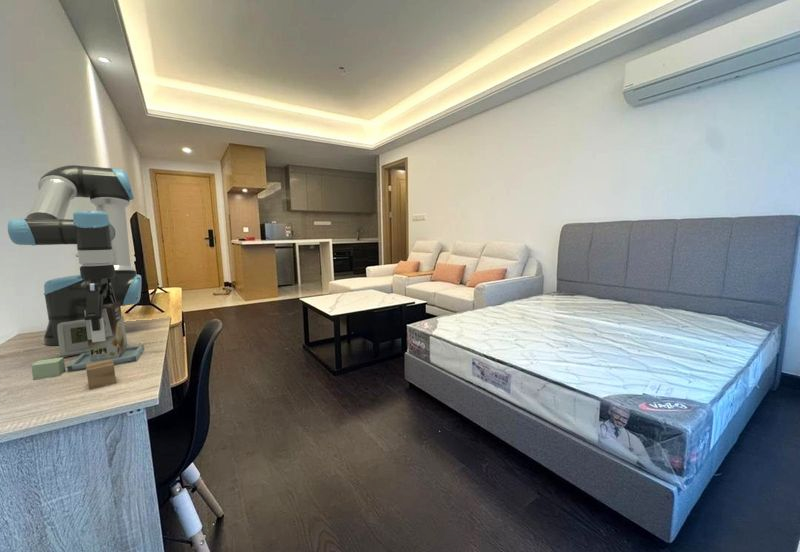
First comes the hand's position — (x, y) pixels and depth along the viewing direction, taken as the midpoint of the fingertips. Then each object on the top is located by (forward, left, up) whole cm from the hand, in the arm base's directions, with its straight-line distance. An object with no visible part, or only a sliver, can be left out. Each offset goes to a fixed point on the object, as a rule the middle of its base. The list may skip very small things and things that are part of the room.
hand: (106, 335), depth 98 cm
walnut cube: (+20, +3, -8) cm, 22 cm away
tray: (0, 0, -8) cm, 8 cm away
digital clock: (-13, -6, -8) cm, 17 cm away
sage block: (+6, -11, -8) cm, 15 cm away
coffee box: (0, 0, -7) cm, 7 cm away
